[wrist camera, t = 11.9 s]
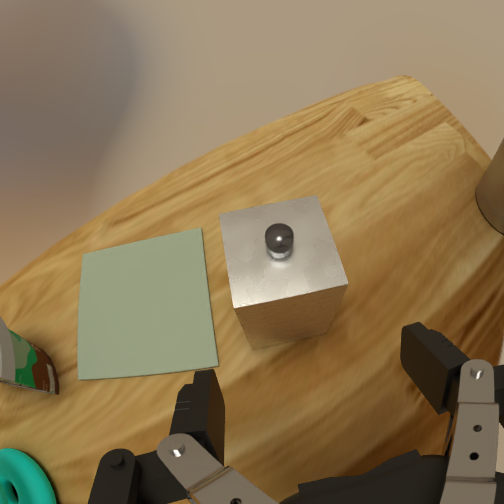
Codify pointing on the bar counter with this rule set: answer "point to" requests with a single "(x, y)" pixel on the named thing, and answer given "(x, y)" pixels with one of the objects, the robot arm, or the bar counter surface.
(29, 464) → the donuts
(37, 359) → the food container
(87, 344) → the rubber mat
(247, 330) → the steel cover
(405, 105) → the bar counter surface
